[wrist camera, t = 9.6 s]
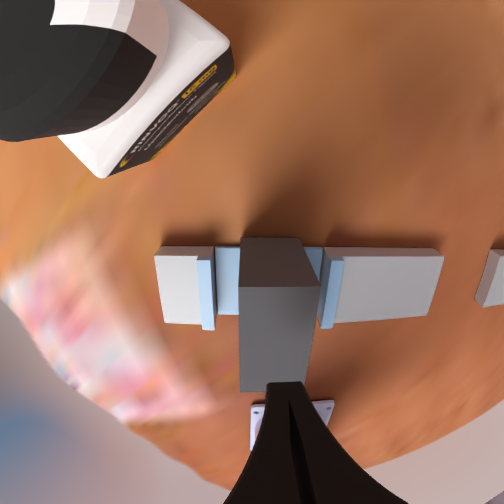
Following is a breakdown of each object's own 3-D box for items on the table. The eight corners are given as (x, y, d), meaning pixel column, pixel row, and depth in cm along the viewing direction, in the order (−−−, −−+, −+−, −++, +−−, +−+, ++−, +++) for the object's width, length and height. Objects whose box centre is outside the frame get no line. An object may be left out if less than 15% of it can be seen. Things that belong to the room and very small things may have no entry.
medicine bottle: (153, 161, 16) (17, 225, 5) (82, 93, 14) (-70, 89, 3) (239, 76, 15) (224, -26, 4) (158, 10, 12) (62, -93, 1)
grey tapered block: (290, 328, 21) (303, 390, 15) (241, 328, 21) (240, 392, 15) (299, 237, 18) (320, 286, 13) (240, 237, 18) (238, 287, 13)
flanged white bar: (495, 296, 21) (506, 307, 19) (169, 310, 21) (162, 327, 19) (510, 249, 19) (524, 258, 17) (160, 246, 19) (151, 259, 17)
